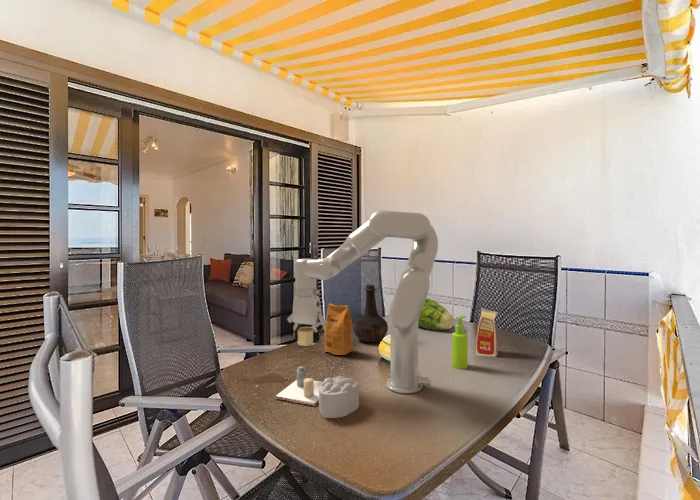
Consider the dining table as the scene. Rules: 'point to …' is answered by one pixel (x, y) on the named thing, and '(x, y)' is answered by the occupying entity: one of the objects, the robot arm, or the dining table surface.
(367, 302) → the glass bottle
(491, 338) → the milk carton
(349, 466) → the dining table surface
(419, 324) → the lettuce
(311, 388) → the post board
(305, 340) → the brass collar
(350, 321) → the coffee package
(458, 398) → the dining table surface
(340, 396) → the lumpy-topped squat cylinder
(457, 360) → the soap dispenser
